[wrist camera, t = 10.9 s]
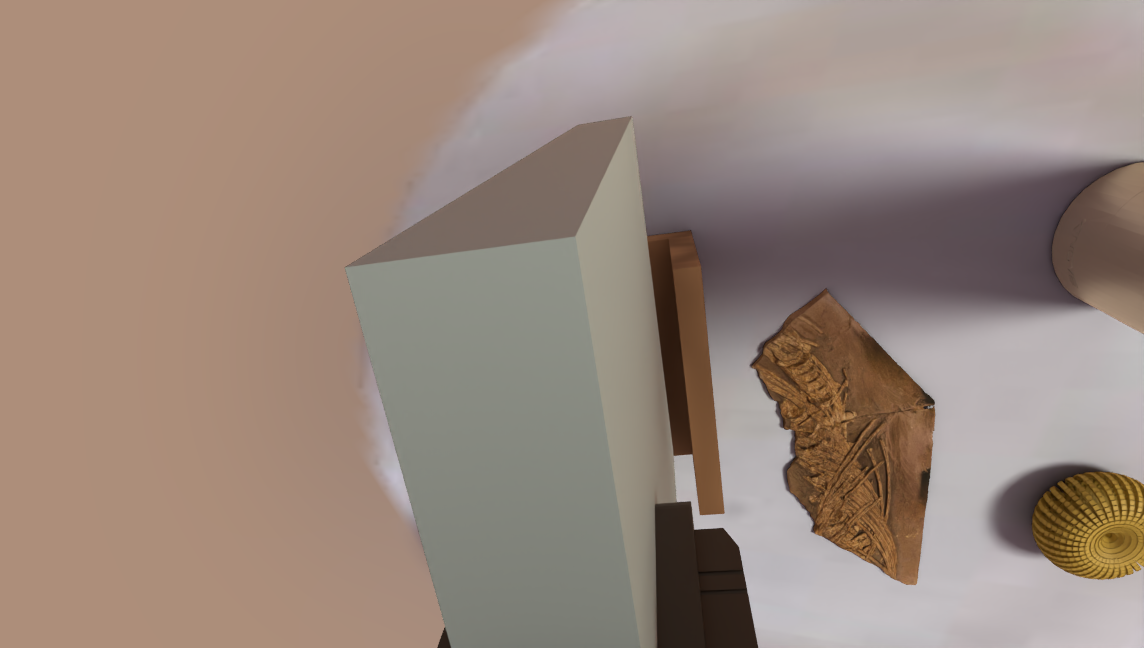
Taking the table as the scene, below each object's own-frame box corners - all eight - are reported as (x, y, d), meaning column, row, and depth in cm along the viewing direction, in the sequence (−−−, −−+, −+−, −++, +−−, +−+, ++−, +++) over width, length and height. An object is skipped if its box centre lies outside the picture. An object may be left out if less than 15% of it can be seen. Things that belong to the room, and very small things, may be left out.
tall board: (632, 116, 24) (575, 237, 5) (673, 450, 28) (720, 1148, 10) (578, 124, 24) (345, 267, 6) (627, 454, 29) (588, 1138, 10)
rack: (690, 230, 43) (701, 266, 35) (711, 441, 49) (724, 513, 41) (457, 261, 46) (418, 300, 38) (502, 458, 51) (476, 529, 43)
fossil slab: (736, 314, 45) (738, 319, 44) (902, 264, 43) (908, 269, 42) (822, 597, 53) (826, 607, 52) (966, 569, 51) (973, 579, 50)
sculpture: (1092, 610, 46) (1027, 538, 44) (1059, 570, 50) (998, 502, 48) (1209, 551, 43) (1144, 472, 42) (1165, 513, 47) (1103, 439, 46)
